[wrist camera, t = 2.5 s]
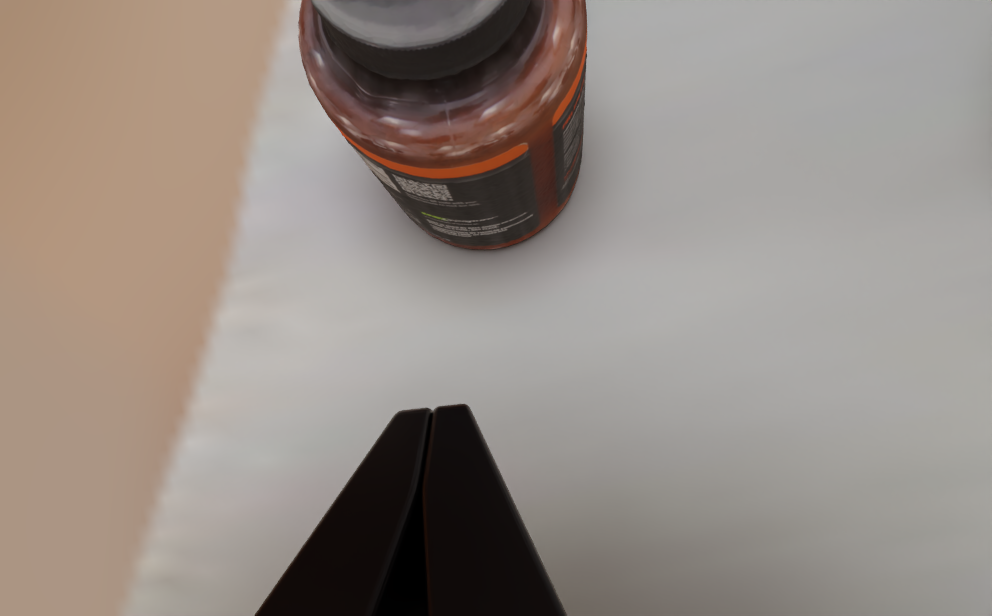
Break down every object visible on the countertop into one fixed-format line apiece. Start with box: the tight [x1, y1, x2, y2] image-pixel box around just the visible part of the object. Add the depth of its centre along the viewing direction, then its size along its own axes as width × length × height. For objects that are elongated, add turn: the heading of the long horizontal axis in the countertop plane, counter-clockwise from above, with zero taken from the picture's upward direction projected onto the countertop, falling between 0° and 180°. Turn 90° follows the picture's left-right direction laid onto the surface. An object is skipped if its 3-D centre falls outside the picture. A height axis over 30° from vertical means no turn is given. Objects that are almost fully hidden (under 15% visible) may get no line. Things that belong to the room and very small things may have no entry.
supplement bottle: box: [298, 0, 587, 249], centre depth 18 cm, size 6×6×11 cm
